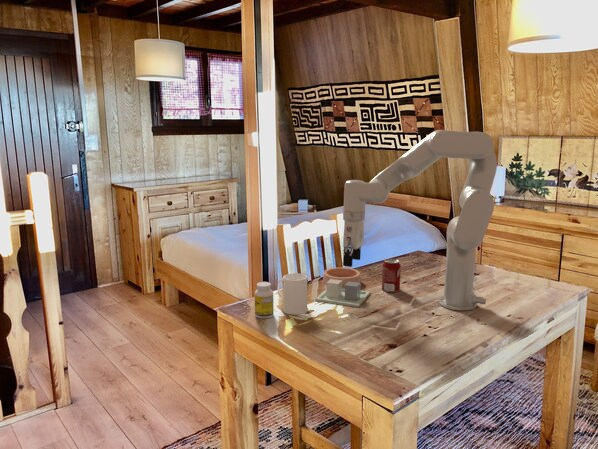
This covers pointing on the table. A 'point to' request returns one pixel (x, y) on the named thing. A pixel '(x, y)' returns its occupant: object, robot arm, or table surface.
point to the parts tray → (343, 299)
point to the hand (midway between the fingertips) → (351, 262)
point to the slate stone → (352, 291)
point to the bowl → (341, 275)
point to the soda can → (391, 275)
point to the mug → (294, 293)
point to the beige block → (334, 288)
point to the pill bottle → (264, 300)
